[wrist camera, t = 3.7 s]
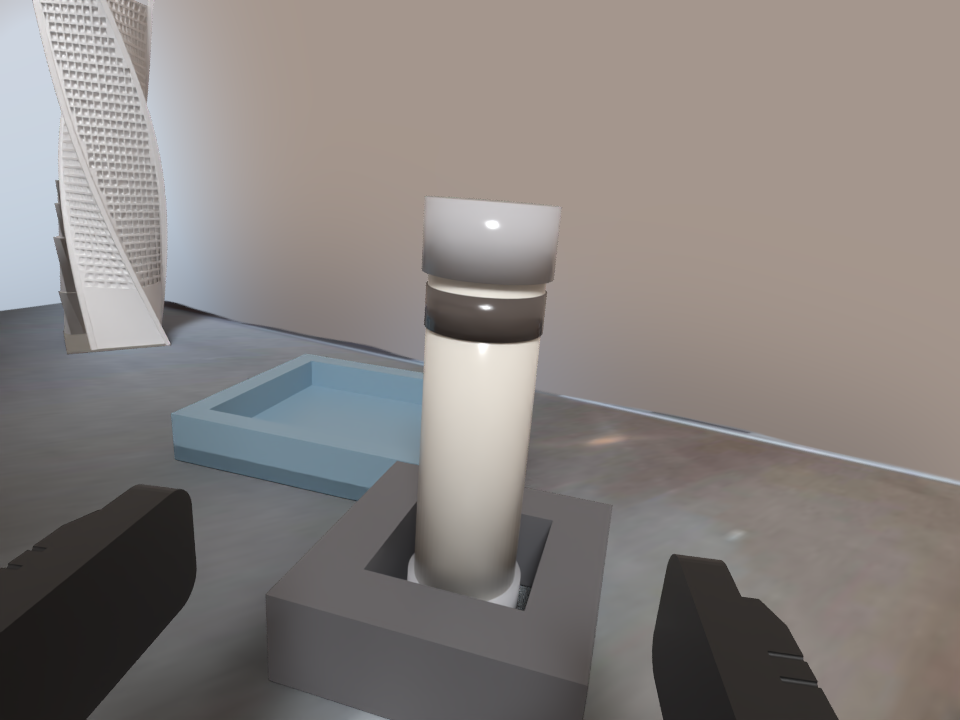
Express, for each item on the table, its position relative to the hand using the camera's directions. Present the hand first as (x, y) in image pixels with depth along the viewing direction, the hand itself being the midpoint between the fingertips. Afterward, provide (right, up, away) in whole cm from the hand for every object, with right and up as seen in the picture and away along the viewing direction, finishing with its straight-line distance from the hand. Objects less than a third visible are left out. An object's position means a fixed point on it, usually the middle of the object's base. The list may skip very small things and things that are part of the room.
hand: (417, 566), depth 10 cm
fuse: (0, -6, +11) cm, 12 cm away
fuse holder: (0, -6, +11) cm, 12 cm away
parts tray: (-6, -1, +24) cm, 24 cm away
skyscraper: (-28, +5, +39) cm, 48 cm away
